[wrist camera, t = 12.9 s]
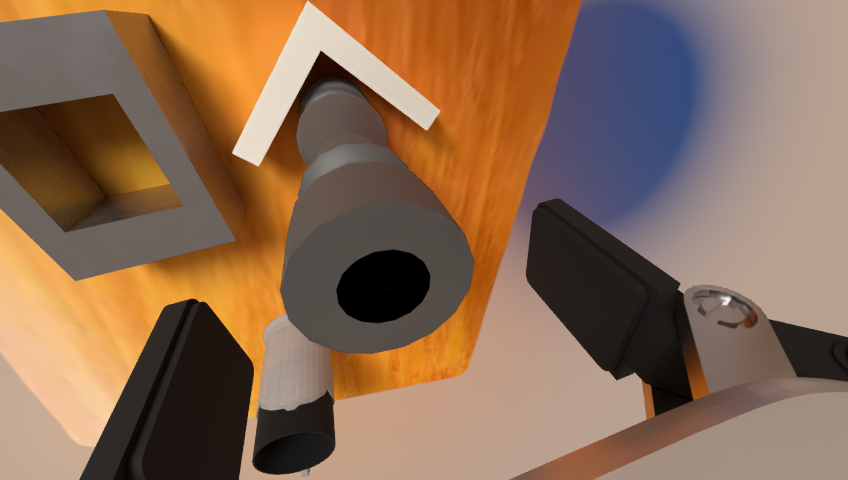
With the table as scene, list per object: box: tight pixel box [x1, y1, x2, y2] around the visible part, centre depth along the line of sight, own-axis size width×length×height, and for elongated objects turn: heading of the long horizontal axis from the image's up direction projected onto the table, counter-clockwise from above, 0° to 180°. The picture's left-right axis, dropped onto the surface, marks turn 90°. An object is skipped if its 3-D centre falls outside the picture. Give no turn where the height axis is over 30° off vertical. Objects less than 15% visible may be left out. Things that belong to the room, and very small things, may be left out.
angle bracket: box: [232, 1, 440, 167], centre depth 26 cm, size 10×17×5 cm, turn 98°
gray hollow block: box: [0, 10, 247, 281], centre depth 24 cm, size 16×12×6 cm
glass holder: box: [252, 314, 335, 477], centre depth 38 cm, size 9×14×15 cm, turn 175°
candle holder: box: [280, 77, 474, 354], centre depth 19 cm, size 6×6×25 cm
